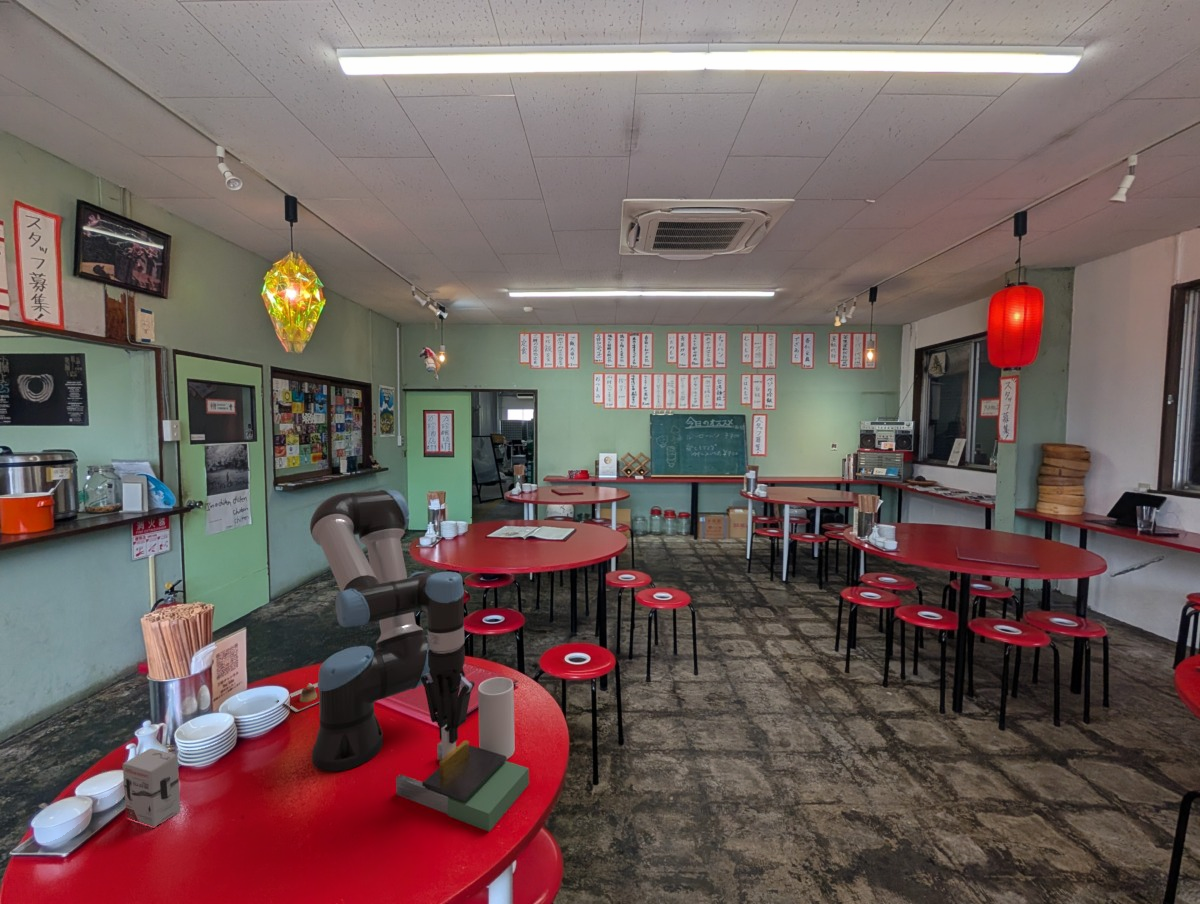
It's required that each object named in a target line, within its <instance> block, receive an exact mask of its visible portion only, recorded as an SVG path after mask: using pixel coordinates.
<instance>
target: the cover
mask: <svg viewBox="0 0 1200 904" xmlns="http://www.w3.org/2000/svg"><path fill="white" fill-rule="evenodd" d="M469 743H470V741H469V740H467V739H466V740H463V741H461V743H460V744H459V745H458V746H457V747H456V748H455V749H454V750H453V751H452V752H451V753H449V754H448V755H447V756H446V757H445V758H444V759H442V760H441V761H440V760H439V767H438V768H437V769H436V770H435V771H434V772H433V773H432V774H430V775H429V776H428V777H427V778H425V780H423V781H422V782H423V786H424V787H427V788H429V789H432V790H435V791H438V792H440V793H443V794H446V795H449V796H451V797H454V798H457V799H460V800H462V801H465V802H466V801H467V800H468V799H469V798H470V797H471V796H472V795H473V794H474V793H475V792H476V791H477V790H478V789H479V788H480V787H481V786H482V785H483V784H484V783H485V781H486V780H487V779H488V778H489V777H490V776H491V775H492V774H493V773H494V772H495V771H496V770H497V769H498V768H499V767H500V766H501V765H502V764H503V763H504V762H505V761H507V759H506V756H504V755H501V754H497V753H494V752H491V751H488V750H484V749H481V748H479V747H477V746H474V745H472V744H469Z"/></svg>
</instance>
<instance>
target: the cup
mask: <svg viewBox="0 0 1200 904" xmlns="http://www.w3.org/2000/svg"><path fill="white" fill-rule="evenodd" d="M514 688H515V687H514V681H513V680H512V679H511V678H508V677H502V676H498V677H497V676H496V677H491V678H487V679H485V680H483V681H482V682H480V684H479V685H478V689H477V691H478V695H477V696H478V698H477V699H478V740H479V741H478V744H479V745H478V746H479V747H478V748H481V749H484V750H488V751H491V752H494V753H497V754H501V755H504V756H506V760H508V759H509V758H510V757H512V756H513V755H514V753H515V748H516V747H515V746H516V745H515V692H514Z"/></svg>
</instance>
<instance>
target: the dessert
mask: <svg viewBox="0 0 1200 904" xmlns="http://www.w3.org/2000/svg"><path fill="white" fill-rule="evenodd" d="M316 688H318V682H316V683H313V684H312V683H307V685H306V687H304V688H301V689H299V690H296V691H294V692H291V693H289V694H290V696H291V698H293V697H296V696H298V695H300V696H299V702H300V703H309V702H311V701H314V700H316V699H317V698H318V694H317V692H316V691H317V690H316ZM317 704H319V701H318V702H315V703H313V704H310V705H308V706H305V707H303V708H300V709H298V708H296V707H294V706H293V705H291V706H290V708H289V709H290V710H292V711H294V712H295V713H298V712H301V711H303V710H306V709H308V708H311V707H313V706H315V705H317Z"/></svg>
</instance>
